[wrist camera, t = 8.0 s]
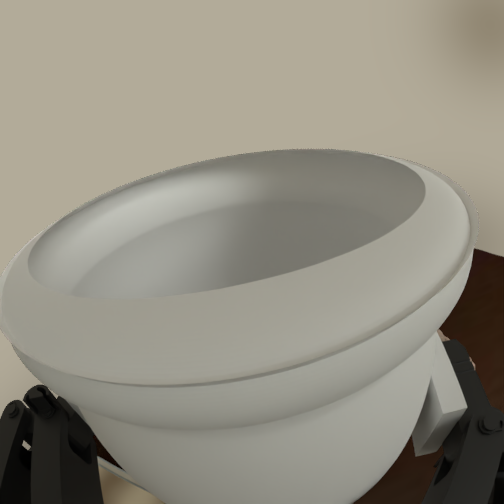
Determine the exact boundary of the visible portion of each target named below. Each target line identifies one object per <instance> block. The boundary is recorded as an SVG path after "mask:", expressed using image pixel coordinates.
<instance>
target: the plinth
mask: <svg viewBox="0 0 504 504" xmlns="http://www.w3.org/2000/svg"><path fill="white" fill-rule="evenodd" d="M98 467H99V475H100V482H101V489H102V495H103V501H104V504H166V503H164V502H163V501H161V500H159V499H158V498H157V497H155V496H154V495H152V494H151V493H149V492H147V491H145V490H143V489H141V488H139V487H137V486H135V485H133V484H131V483H129V482H127V481H125V480H123V479H121V478H119V477H118V476H116V475H114V474H112V473H110V472H109V471H107V470H105V469H104V468H102V467H100V466H98Z"/></svg>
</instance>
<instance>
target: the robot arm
mask: <svg viewBox="0 0 504 504" xmlns="http://www.w3.org/2000/svg"><path fill="white" fill-rule="evenodd" d="M23 401H24V402H25V403H26V404H27V405H28V407H29V408H27V407H26V406H25V405H24V404H23V403H22V401H20V400H14V401H12V402H10V403H9V404H8V405H7V406H6V408H5V409H4V411H3V414H2V416H1V419H0V504H104V501H103V495H102V489H101V482H100V475H99V467H98V458H97V447H96V443H95V440H94V439H93V438H92V437H93V435H94V432H93V431H92V429H91V428H90V426H89V424H88V423H87V421H86V420H85V418H84V416H83V414H82V413H81V411H80V409H79V407H78V406H77V405H75V404H73V403H71V402H69V401H67V400H65V399H64V398H62V397H60V396H58V398H57V399H56V398H55V397H54V395H53V394H52V393H51V392H50V391H49V389H48V388H47V387H46V386H44V385H36V386H34V387H32V388H31V389H30V390H28V391H27V393H26V394H25V396H24V399H23ZM412 439H413V444H414V450H415V456H420V455H425V454H429V453H433V452H437V450H438V449H439V448H440V446H441V445H443V449H444V454H443V455H442V456H441V457H440V459H439V460H438V461H437V462H436V464H435V465H434V467H435V468H436V467H437V466H438V467H437V470H436V472H435V475H434V477H433V479H432V482H431V484H430V486H429V488H428V491H427V493H426V495H425V497H424V499H423V501H422V503H421V504H504V414H503V413H502V412H501V411H500V410H499V409H496V408H494V407H491V405H490V403H489V401H488V399H487V396H486V394H485V391H484V389H483V386H482V384H481V382H480V379H479V377H478V375H477V372H476V370H474V366H473V364H472V361H470V357H469V355H468V353H467V351H466V349H465V347H464V346H462V345H461V344H460V343H459V342H458V341H457V340H456V339H453V340H447V341H441V339H440V337H439V335H438V333H437V331H436V345H435V354H434V361H433V367H432V373H431V378H430V382H429V386H428V390H427V394H426V397H425V401H424V404H423V407H422V410H421V412H420V415H419V418H418V420H417V423H416V425H415V427H414V429H413V431H412ZM23 440H24V441H25V442H27V443H28V444H29V445H30V446H31V448H30V449H29V450H27V449H25V448H24V447H23V446H22V444H23Z"/></svg>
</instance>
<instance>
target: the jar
mask: <svg viewBox="0 0 504 504" xmlns="http://www.w3.org/2000/svg"><path fill="white" fill-rule="evenodd" d="M478 232H479V217H478V212H477V209H476V207H475V204H474V202H473V201H472V199H471V197H470V196H469V195H468V194H467V192H466V191H465V190H464V189H463V188H462V187H461V186H459V185H458V184H457V183H456V182H455V181H453V180H452V179H450V178H449V177H447V176H445V175H444V174H442V173H440V172H437V171H436V170H433V169H431V168H429V167H426V166H423V165H421V164H418V163H415V162H411V161H408V160H404V159H400V158H396V157H391V156H386V155H380V154H374V153H366V152H358V151H349V150H334V149H290V150H275V151H263V152H254V153H246V154H239V155H234V156H227V157H222V158H216V159H211V160H206V161H201V162H197V163H193V164H189V165H185V166H181V167H177V168H174V169H170V170H166V171H163V172H160V173H157V174H154V175H150V176H147V177H144V178H141V179H139V180H136V181H133V182H131V183H128V184H125V185H123V186H120V187H118V188H116V189H113V190H111V191H109V192H107V193H104V194H102V195H100V196H98V197H96V198H94V199H92V200H90V201H88V202H86V203H84V204H83V205H81V206H79V207H77V208H75V209H74V210H72V211H71V212H69V213H67V214H66V215H64V216H63V217H61V218H59V219H58V220H56V221H55V222H53V223H52V224H50V225H49V226H48V227H46V228H45V229H43V230H42V231H41V232H40V233H38V234H37V235H36V236H35V237H33V238H32V239H31V240H30V241H29V242H28V243H27V244H26V245H24V246H23V247H22V248H21V249H20V250H19V251H18V253H17V254H16V255H15V256H14V257H13V258H12V260H11V261H10V262H9V264H8V265H7V267H6V268H5V269H4V271H3V273H2V275H1V277H0V329H1V331H2V333H3V334H4V335H5V337H6V338H7V339H8V340H9V341H10V342H11V344H12V346H13V348H14V350H15V352H16V354H17V355H18V357H19V358H20V360H21V361H22V362H23V364H24V365H25V366H26V367H27V368H28V369H29V370H30V372H32V374H33V375H34V376H35V377H36V378H37V379H38V380H40V381H41V382H42V383H43V384H44V385H45V386H47V387H48V388H49V389H50V390H52V391H53V392H55V393H56V394H57V395H59V396H60V397H62V398H64V399H65V400H67V401H69V402H71V403H73V404H75V405H77V406H78V407H79V409H80V411H81V413H82V414H83V416H84V418H85V420H86V421H87V423H88V424H89V426H90V428H91V429H92V431H93V432H94V434H95V435H96V436H97V438H98V439H99V441H100V442H101V443H102V445H103V446H104V447H105V449H106V450H107V451H108V452H109V454H110V455H111V456H112V457H113V458H114V459H115V461H116V462H117V463H118V464H119V465H120V466H121V467H122V468H123V469H124V470H125V471H126V472H127V473H128V474H129V475H130V476H131V477H132V478H133V479H134V480H135V481H136V482H137V483H139V484H140V485H141V486H142V487H143V488H145V489H146V490H147V491H148V492H150V493H151V494H152V495H154V496H155V497H157V498H158V499H159V500H161V501H163V502H164V503H166V504H352V503H354V502H355V501H357V500H358V499H359V498H361V497H362V496H363V495H364V494H365V493H367V492H368V491H369V490H370V489H371V488H372V487H373V486H374V485H375V484H376V483H377V482H378V481H379V480H380V479H381V478H382V477H383V476H384V475H385V473H386V472H387V471H388V470H389V468H390V467H391V466H392V465H393V463H394V462H395V460H396V459H397V458H398V456H399V455H400V453H401V451H402V450H403V448H404V446H405V445H406V443H407V441H408V439H409V437H410V435H411V433H412V431H413V429H414V427H415V425H416V423H417V420H418V418H419V415H420V412H421V410H422V407H423V404H424V401H425V397H426V394H427V390H428V386H429V382H430V378H431V373H432V367H433V361H434V354H435V345H436V331H437V330H438V328H439V327H440V326H441V325H442V323H443V322H444V321H445V319H446V318H447V317H448V315H449V314H450V312H451V311H452V309H453V308H454V306H455V305H456V303H457V301H458V299H459V298H460V296H461V294H462V291H463V289H464V287H465V284H466V281H467V278H468V275H469V271H470V267H471V262H472V257H473V249H474V246H475V244H476V241H477V237H478Z"/></svg>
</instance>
